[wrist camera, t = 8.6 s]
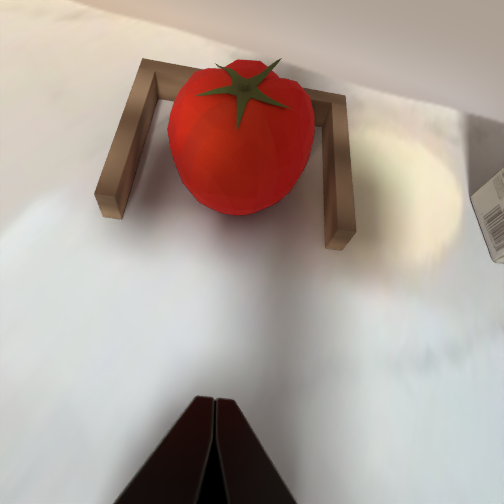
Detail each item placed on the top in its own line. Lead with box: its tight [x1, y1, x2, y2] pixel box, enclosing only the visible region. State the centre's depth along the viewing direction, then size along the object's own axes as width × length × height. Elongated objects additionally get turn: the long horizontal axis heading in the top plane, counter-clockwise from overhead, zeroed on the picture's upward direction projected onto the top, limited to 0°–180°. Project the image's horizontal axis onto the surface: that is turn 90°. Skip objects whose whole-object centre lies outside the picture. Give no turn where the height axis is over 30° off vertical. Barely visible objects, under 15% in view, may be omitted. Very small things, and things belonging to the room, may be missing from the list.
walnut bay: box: [94, 58, 356, 250], centre depth 27 cm, size 13×16×2 cm
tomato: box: [167, 59, 315, 216], centre depth 23 cm, size 9×10×8 cm
